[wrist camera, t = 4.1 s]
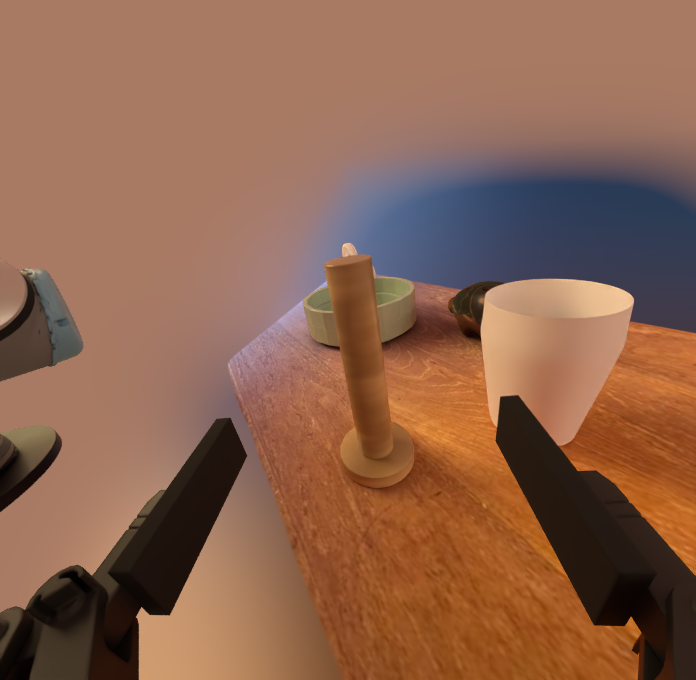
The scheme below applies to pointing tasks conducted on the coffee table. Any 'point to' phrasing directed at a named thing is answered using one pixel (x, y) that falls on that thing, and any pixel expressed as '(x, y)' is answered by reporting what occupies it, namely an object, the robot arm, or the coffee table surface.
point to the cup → (552, 347)
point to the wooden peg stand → (365, 378)
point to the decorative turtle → (471, 306)
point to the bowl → (391, 304)
